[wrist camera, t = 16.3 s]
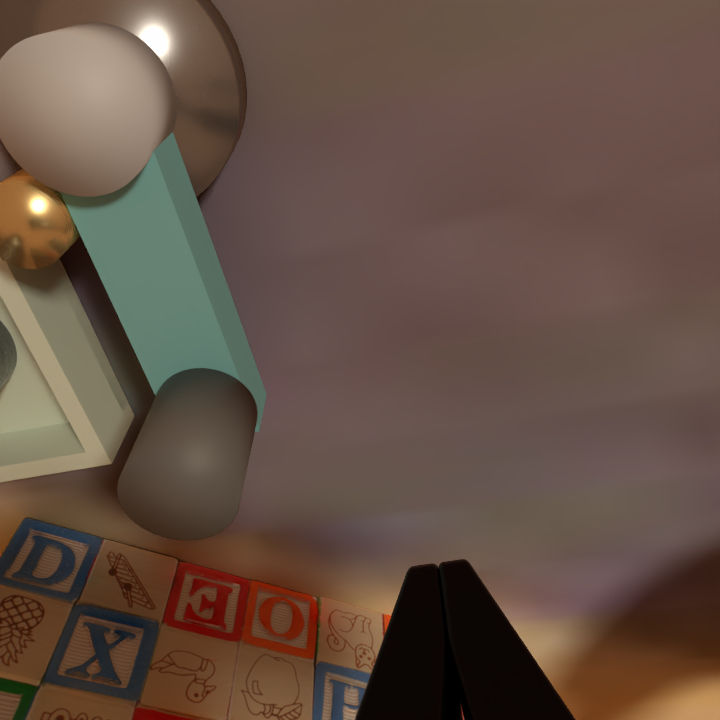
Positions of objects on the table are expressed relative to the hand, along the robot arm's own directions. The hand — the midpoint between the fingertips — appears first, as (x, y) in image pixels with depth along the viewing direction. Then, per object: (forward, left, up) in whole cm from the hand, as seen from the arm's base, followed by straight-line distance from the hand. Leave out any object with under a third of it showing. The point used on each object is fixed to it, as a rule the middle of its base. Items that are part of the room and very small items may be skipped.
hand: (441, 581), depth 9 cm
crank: (+2, +6, -10) cm, 12 cm away
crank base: (+6, +6, -12) cm, 15 cm away
